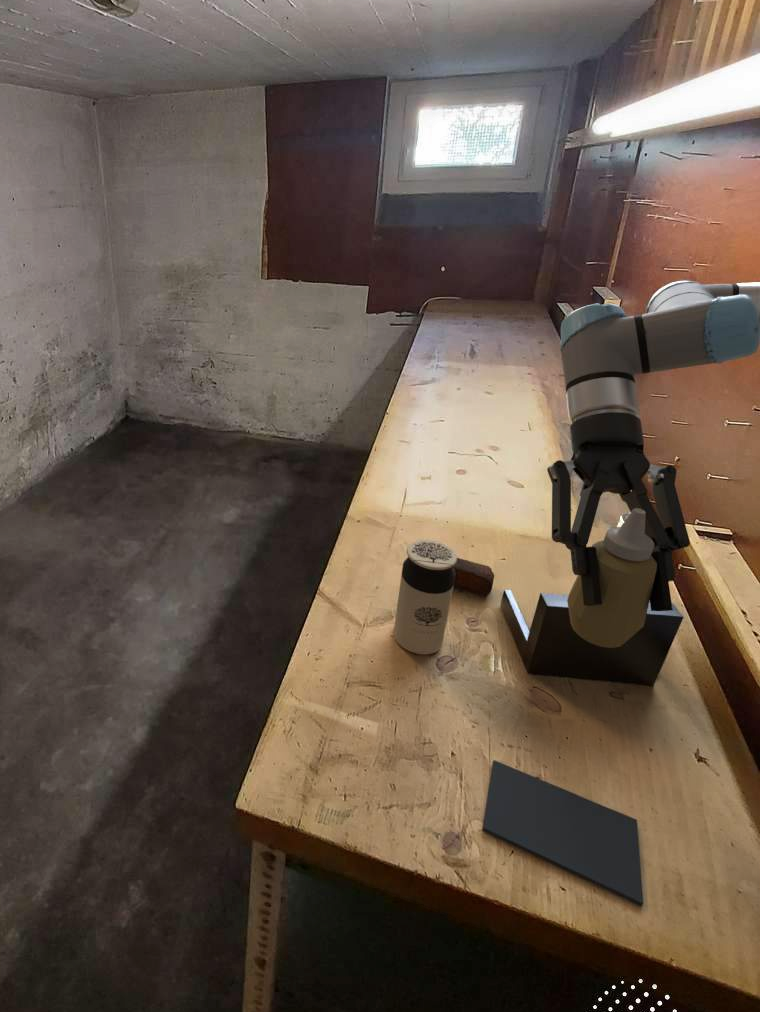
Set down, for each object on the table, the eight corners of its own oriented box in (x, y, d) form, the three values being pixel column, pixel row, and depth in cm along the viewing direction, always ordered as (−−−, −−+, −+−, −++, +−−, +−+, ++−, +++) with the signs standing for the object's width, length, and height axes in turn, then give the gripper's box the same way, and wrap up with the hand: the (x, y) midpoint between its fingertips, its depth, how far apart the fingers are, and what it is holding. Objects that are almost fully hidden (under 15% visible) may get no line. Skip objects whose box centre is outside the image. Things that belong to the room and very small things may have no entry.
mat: (635, 822, 68) (637, 819, 68) (641, 906, 61) (643, 903, 60) (492, 762, 76) (493, 759, 75) (482, 830, 68) (483, 827, 68)
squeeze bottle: (548, 609, 74) (582, 492, 66) (611, 609, 74) (653, 492, 66) (581, 656, 67) (624, 532, 59) (651, 656, 67) (703, 531, 59)
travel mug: (396, 616, 101) (407, 534, 93) (443, 628, 98) (459, 543, 90) (390, 648, 94) (402, 562, 86) (440, 661, 91) (458, 573, 83)
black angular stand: (499, 606, 102) (515, 543, 96) (607, 615, 99) (630, 550, 93) (527, 674, 88) (547, 606, 82) (653, 686, 86) (684, 617, 79)
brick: (429, 581, 109) (433, 562, 107) (433, 570, 112) (437, 551, 110) (489, 599, 104) (494, 579, 102) (491, 586, 107) (496, 566, 105)
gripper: (670, 433, 73) (700, 616, 66) (511, 428, 77) (524, 602, 69) (709, 412, 66) (747, 614, 59) (532, 406, 69) (548, 597, 62)
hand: (626, 607), depth 64 cm, fingers closed on squeeze bottle, 6 cm apart
